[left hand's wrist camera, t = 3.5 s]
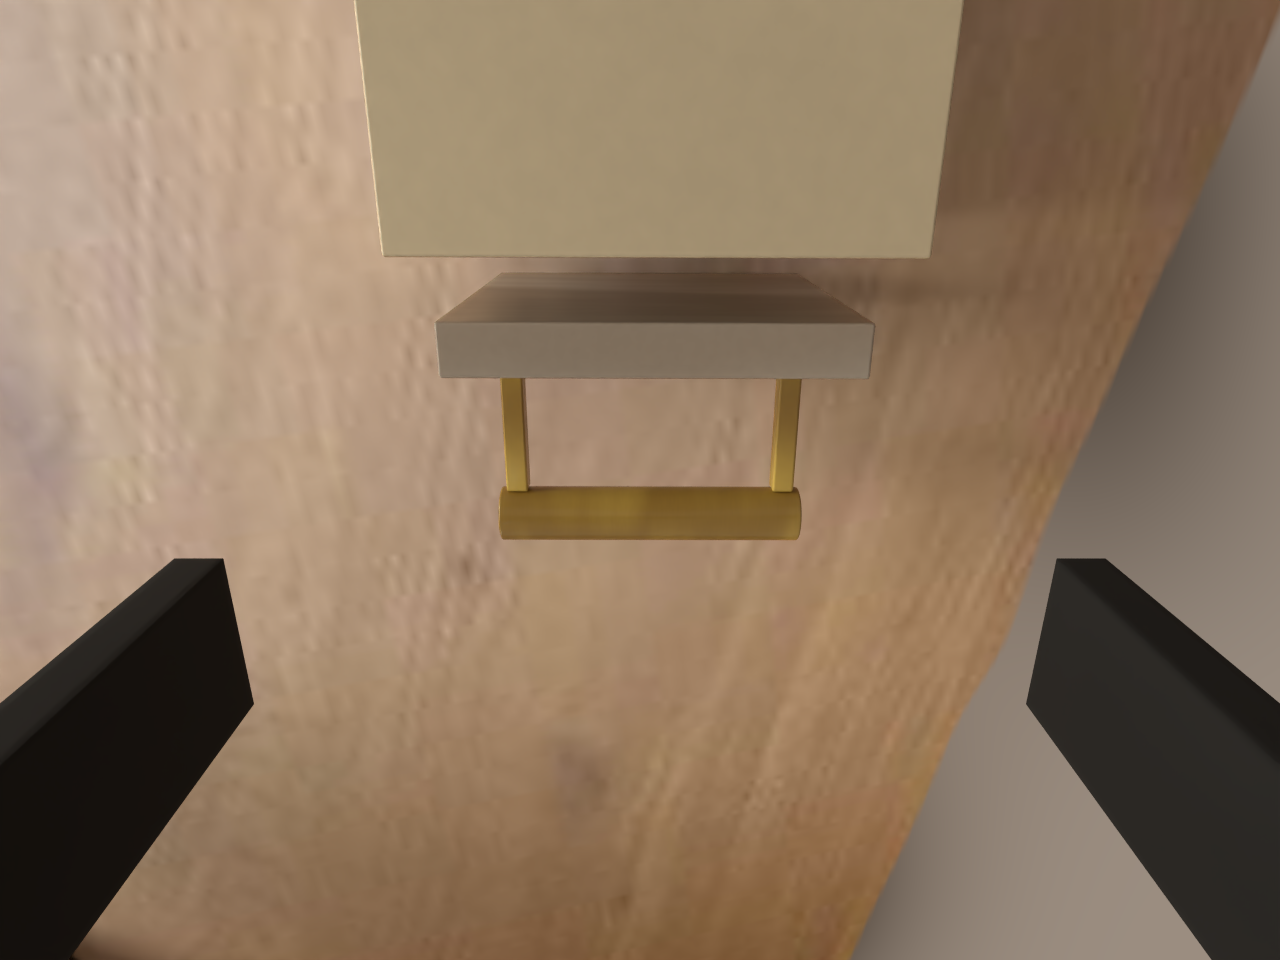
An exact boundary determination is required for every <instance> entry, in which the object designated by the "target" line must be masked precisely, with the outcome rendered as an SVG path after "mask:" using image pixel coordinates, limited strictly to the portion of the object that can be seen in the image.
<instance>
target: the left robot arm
mask: <svg viewBox="0 0 1280 960" xmlns="http://www.w3.org/2000/svg"><path fill="white" fill-rule="evenodd" d="M1026 704H1027V706H1028V707H1029V709H1030V710H1031V711H1032V713H1033V714H1034V716H1035V717H1036V718H1037V720H1038V721H1039V723H1040V724H1041V725H1042V727H1043V728H1044V729H1045V731H1046V732H1047V734H1048V735H1049V736H1050V738H1051V739H1052V740H1053V742H1054V743H1055V745H1056V746H1057V747H1058V749H1059V750H1060V751H1061V753H1062V754H1063V755H1064V757H1065V758H1066V760H1067V761H1068V762H1069V764H1070V765H1071V767H1072V768H1073V769H1074V771H1075V772H1076V774H1077V775H1078V776H1079V778H1080V779H1081V780H1082V782H1083V783H1084V784H1085V786H1086V787H1087V789H1088V790H1089V791H1090V793H1091V794H1092V795H1093V797H1094V798H1095V800H1096V801H1097V802H1098V804H1099V805H1100V807H1101V808H1102V809H1103V811H1104V812H1105V813H1106V815H1107V816H1108V817H1109V819H1110V820H1111V822H1112V823H1113V824H1114V826H1115V827H1116V829H1117V830H1118V831H1119V833H1120V834H1121V836H1122V837H1123V838H1124V840H1125V841H1126V842H1127V844H1128V845H1129V846H1130V848H1131V849H1132V851H1133V852H1134V853H1135V855H1136V856H1137V858H1138V859H1139V860H1140V862H1141V863H1142V864H1143V866H1144V867H1145V869H1146V870H1147V871H1148V873H1149V874H1150V875H1151V877H1152V878H1153V880H1154V881H1155V882H1156V884H1157V885H1158V887H1159V888H1160V889H1161V891H1162V892H1163V893H1164V895H1165V896H1166V897H1167V899H1168V900H1169V902H1170V903H1171V904H1172V906H1173V907H1174V909H1175V910H1176V911H1177V913H1178V914H1179V915H1180V917H1181V918H1182V920H1183V921H1184V922H1185V924H1186V925H1187V926H1188V928H1189V929H1190V931H1191V932H1192V933H1193V935H1194V936H1195V938H1196V939H1197V940H1198V942H1199V943H1200V944H1201V946H1202V947H1203V949H1204V950H1205V951H1206V953H1207V954H1208V955H1209V957H1210V958H1211V960H1280V703H1279V702H1277V701H1276V700H1275V699H1274V698H1273V697H1271V696H1270V695H1269V694H1268V693H1267V692H1265V691H1264V690H1263V689H1262V688H1261V687H1259V686H1258V685H1257V684H1256V683H1255V682H1253V681H1252V680H1251V679H1250V678H1249V677H1247V676H1246V675H1245V674H1244V673H1243V672H1241V671H1240V670H1239V669H1238V668H1236V667H1235V666H1234V665H1233V664H1232V663H1231V662H1229V661H1228V660H1227V659H1226V658H1224V657H1223V656H1222V655H1221V654H1220V653H1218V652H1217V651H1216V650H1215V649H1214V648H1212V647H1211V646H1210V645H1209V644H1208V643H1206V642H1205V641H1204V640H1203V639H1202V638H1200V637H1199V636H1198V635H1197V634H1196V633H1194V632H1193V631H1192V630H1191V629H1190V628H1188V627H1187V626H1186V625H1185V624H1184V623H1182V622H1181V621H1180V620H1179V619H1178V618H1176V617H1175V616H1174V615H1173V614H1171V613H1170V612H1169V611H1168V610H1167V609H1165V608H1164V607H1163V606H1162V605H1161V604H1160V603H1158V602H1157V601H1156V600H1155V599H1153V598H1152V597H1151V596H1150V595H1149V594H1147V593H1146V592H1145V591H1144V590H1143V589H1141V588H1140V587H1139V586H1138V585H1137V584H1135V583H1134V582H1133V581H1132V580H1131V579H1129V578H1128V577H1127V576H1126V575H1125V574H1123V573H1122V572H1121V571H1120V570H1119V569H1117V568H1116V567H1115V566H1114V565H1113V564H1111V563H1110V562H1109V561H1108V560H1106V559H1057V560H1056V565H1055V570H1054V574H1053V579H1052V584H1051V589H1050V593H1049V598H1048V603H1047V607H1046V612H1045V617H1044V622H1043V626H1042V631H1041V636H1040V641H1039V645H1038V650H1037V655H1036V660H1035V664H1034V669H1033V674H1032V679H1031V683H1030V688H1029V693H1028V698H1027V703H1026ZM253 705H254V702H253V698H252V693H251V688H250V683H249V679H248V674H247V669H246V664H245V660H244V655H243V650H242V645H241V641H240V636H239V631H238V626H237V622H236V617H235V612H234V607H233V603H232V598H231V593H230V588H229V584H228V579H227V574H226V570H225V565H224V560H223V559H173V560H172V561H171V562H170V563H169V564H167V565H166V566H165V567H164V568H163V569H161V570H160V571H159V572H158V573H157V574H155V575H154V576H153V577H152V578H151V579H149V580H148V581H147V582H146V583H145V584H143V585H142V586H141V587H140V588H139V589H137V590H136V591H135V592H134V593H133V594H131V595H130V596H129V597H128V598H127V599H125V600H124V601H123V602H122V603H120V604H119V605H118V606H117V607H116V608H114V609H113V610H112V611H111V612H110V613H108V614H107V615H106V616H105V617H104V618H102V619H101V620H100V621H99V622H98V623H96V624H95V625H94V626H93V627H92V628H90V629H89V630H88V631H87V632H86V633H84V634H83V635H82V636H81V637H80V638H78V639H77V640H76V641H75V642H74V643H72V644H71V645H70V646H69V647H68V648H66V649H65V650H64V651H63V652H62V653H60V654H59V655H58V656H57V657H55V658H54V659H53V660H52V661H51V662H49V663H48V664H47V665H46V666H45V667H43V668H42V669H41V670H40V671H39V672H37V673H36V674H35V675H34V676H33V677H31V678H30V679H29V680H28V681H27V682H25V683H24V684H23V685H22V686H21V687H19V688H18V689H17V690H16V691H15V692H13V693H12V694H11V695H10V696H9V697H7V698H6V699H5V700H4V701H3V702H1V703H0V960H69V958H70V957H71V955H72V954H73V953H74V951H75V950H76V949H77V947H78V946H79V944H80V943H81V942H82V940H83V939H84V938H85V936H86V935H87V933H88V932H89V931H90V929H91V928H92V926H93V925H94V924H95V922H96V921H97V920H98V918H99V917H100V915H101V914H102V913H103V911H104V910H105V909H106V907H107V906H108V904H109V903H110V902H111V900H112V899H113V898H114V896H115V895H116V893H117V892H118V891H119V889H120V888H121V887H122V885H123V884H124V882H125V881H126V880H127V878H128V877H129V875H130V874H131V873H132V871H133V870H134V869H135V867H136V866H137V864H138V863H139V862H140V860H141V859H142V858H143V856H144V855H145V853H146V852H147V851H148V849H149V848H150V847H151V845H152V844H153V842H154V841H155V840H156V838H157V837H158V836H159V834H160V833H161V831H162V830H163V829H164V827H165V826H166V824H167V823H168V822H169V820H170V819H171V818H172V816H173V815H174V813H175V812H176V811H177V809H178V808H179V807H180V805H181V804H182V802H183V801H184V800H185V798H186V797H187V796H188V794H189V793H190V791H191V790H192V789H193V787H194V786H195V785H196V783H197V782H198V780H199V779H200V778H201V776H202V775H203V774H204V772H205V771H206V769H207V768H208V767H209V765H210V764H211V762H212V761H213V760H214V758H215V757H216V756H217V754H218V753H219V751H220V750H221V749H222V747H223V746H224V745H225V743H226V742H227V740H228V739H229V738H230V736H231V735H232V734H233V732H234V731H235V729H236V728H237V727H238V725H239V724H240V723H241V721H242V720H243V718H244V717H245V716H246V714H247V713H248V711H249V710H250V709H251V707H252V706H253Z"/></svg>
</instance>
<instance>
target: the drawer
mask: <svg viewBox="0 0 1280 960" xmlns="http://www.w3.org/2000/svg"><path fill="white" fill-rule="evenodd" d="M434 329H435V340H436V352H437V363H438V374H439V377H440V378H500V385H501V402H502V418H503V434H504V450H505V467H506V483H507V486H504V487H503V488H502V490H501V493H500V498H499V530H500V534H501V537H502V539H504V540H797V539H798V537H799V534H800V529H801V499H800V494H799V491H798V489H797V488H796V487H793V483H794V471H795V458H796V445H797V432H798V419H799V407H800V394H801V381H802V379H868V378H869V377H870V369H871V360H872V351H873V342H874V333H875V324H874V323H873V322H871V321H870V320H868V319H866V318H865V317H863V316H862V315H860V314H859V313H857V312H856V311H854V310H853V309H851V308H849V307H848V306H846V305H845V304H843V303H842V302H840V301H839V300H837V299H835V298H834V297H832V296H831V295H829V294H828V293H826V292H825V291H823V290H821V289H820V288H818V287H817V286H815V285H814V284H812V283H811V282H809V281H807V280H806V279H804V278H803V277H801V276H800V275H798V274H745V273H501V274H500V275H498V276H497V277H496V278H494V279H493V280H491V281H490V282H489V283H487V284H486V285H485V286H483V287H482V288H481V289H479V290H478V291H477V292H475V293H474V294H473V295H471V296H470V297H468V298H467V299H466V300H464V301H463V302H462V303H460V304H459V305H458V306H456V307H455V308H454V309H452V310H451V311H450V312H448V313H447V314H446V315H444V316H443V317H441V318H440V319H439V320H437V321H436V322H435V323H434ZM525 378H623V379H776V392H775V407H774V422H773V437H772V452H771V467H770V482H769V484H770V486H771V487H599V486H529V485H530V468H529V448H528V428H527V408H526V388H525Z"/></svg>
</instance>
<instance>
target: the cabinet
mask: <svg viewBox="0 0 1280 960" xmlns="http://www.w3.org/2000/svg"><path fill="white" fill-rule="evenodd" d="M354 6H355V15H356V25H357V34H358V43H359V52H360V61H361V70H362V79H363V88H364V97H365V106H366V115H367V124H368V133H369V143H370V152H371V161H372V170H373V179H374V188H375V197H376V206H377V215H378V224H379V233H380V242H381V252H382V255H383V256H384V257H556V258H875V259H928V258H930V257H931V252H932V245H933V237H934V230H935V222H936V214H937V207H938V199H939V191H940V184H941V176H942V168H943V161H944V153H945V145H946V138H947V130H948V123H949V115H950V107H951V100H952V92H953V84H954V77H955V69H956V61H957V54H958V46H959V38H960V31H961V23H962V16H963V8H964V0H354Z"/></svg>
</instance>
